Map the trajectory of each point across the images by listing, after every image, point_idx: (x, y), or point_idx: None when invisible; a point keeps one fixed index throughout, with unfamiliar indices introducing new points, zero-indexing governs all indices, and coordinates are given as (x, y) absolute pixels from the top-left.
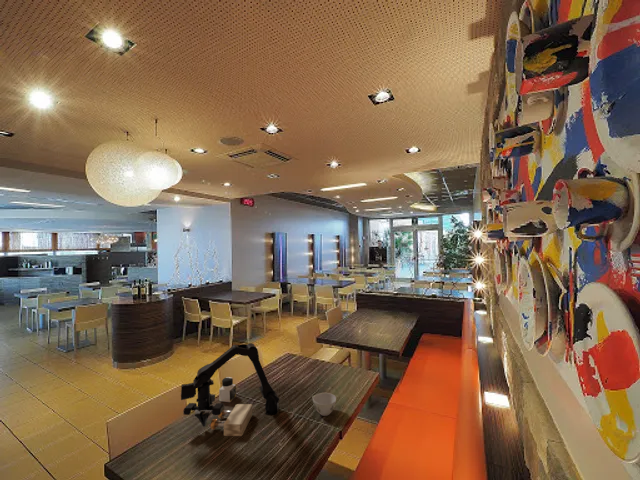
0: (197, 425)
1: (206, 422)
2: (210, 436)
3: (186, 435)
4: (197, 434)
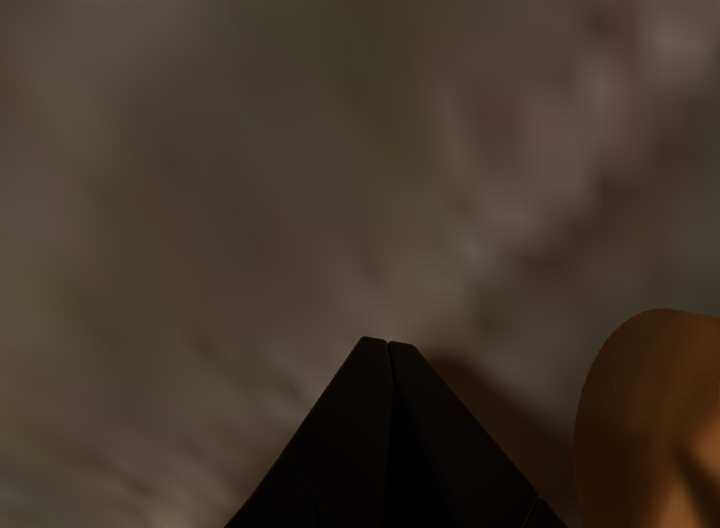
0: (90, 69)
1: (449, 402)
2: (551, 505)
3: (21, 417)
4: (260, 422)
